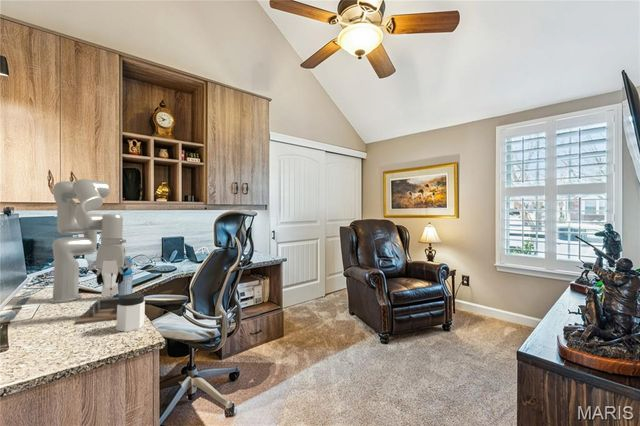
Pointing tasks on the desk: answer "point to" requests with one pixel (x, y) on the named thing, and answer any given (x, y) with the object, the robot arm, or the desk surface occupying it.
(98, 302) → the u rest
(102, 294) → the beer glass
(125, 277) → the beverage bottle
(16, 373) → the desk surface
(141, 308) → the jar
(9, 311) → the desk surface
